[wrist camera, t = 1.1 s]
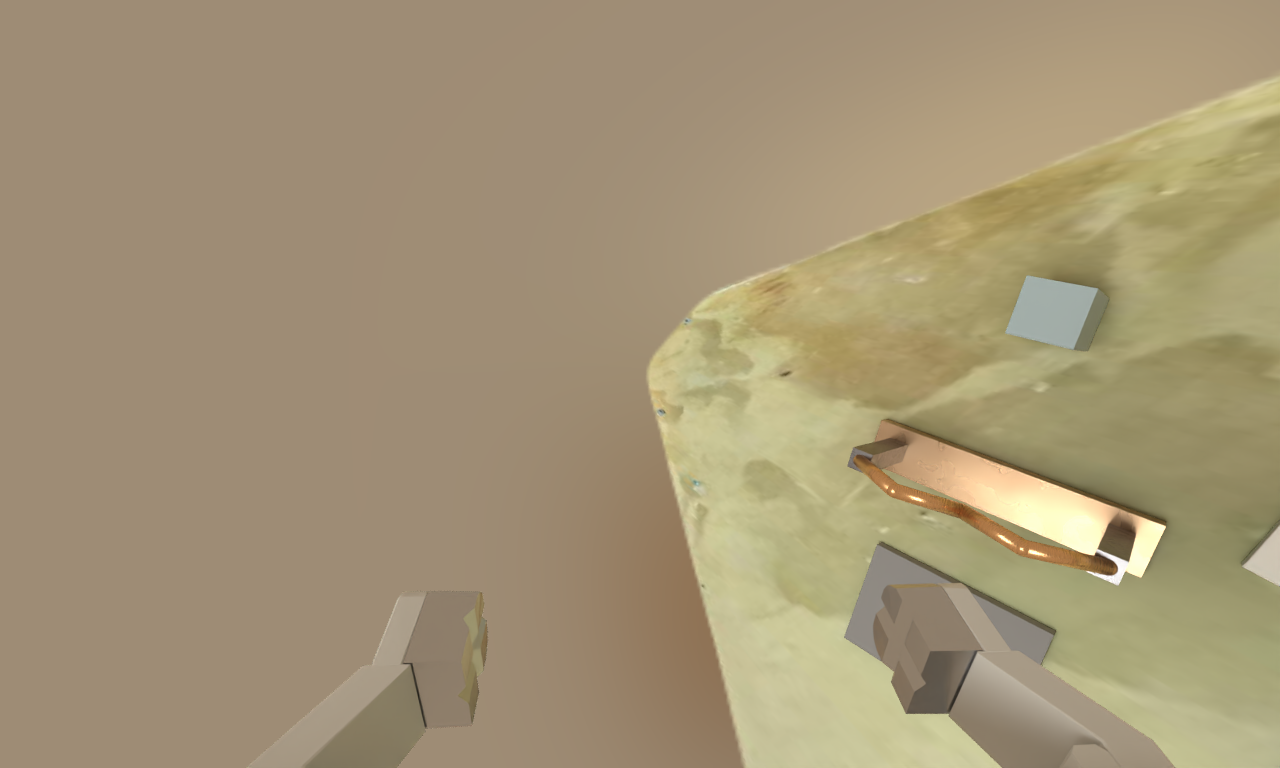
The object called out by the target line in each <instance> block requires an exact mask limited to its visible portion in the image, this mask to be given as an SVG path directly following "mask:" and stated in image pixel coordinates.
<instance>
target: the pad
mask: <svg viewBox="0 0 1280 768" xmlns="http://www.w3.org/2000/svg"><path fill="white" fill-rule="evenodd" d="M930 583H933V584H941V583H961V582H959V581H957V580H955V579H953V578H951V577H949V576H947V575H945V574H943V573H941V572H939V571H937V570H935V569H933V568H931V567H929V566H927V565H925V564H924V563H922V562H920V561H918V560H916V559H914V558H912V557H910V556H908V555H906V554H904V553H902V552H900V551H898V550H896V549H894V548H892V547H890V546H888V545H886V544H884V543H882V542H881V543H879V544H877V547H876V549H875V552H874V555H873V558H872V561H871V564H870V566H869V569H868V572H867V575H866V578H865V580H864V583H863V586H862V589H861V592H860V594H859V597H858V600H857V603H856V606H855V608H854V611H853V614H852V617H851V620H850V622H849V625H848V628H847V631H846V634H845V637H844V638H846V639H847V640H849V641H850V642H852V643H853V644H855V645H857V646H858V647H860V648H861V649H863V650H864V651H866V652H868V653H869V654H871V655H872V656H874V657H875V658H877V659H878V660H880V661H881V659H880V657H879V654H878V652H877V650H876V646H875V642H874V636H873V623H874V619H875V615H876V613H877V612H878V611H880V610H881V609H882V608H883V607H884V606H885V605H884V603H883V601H882V599H881V596H882V593H883V590H884V588H885V587H886V586H887V585H894V584H930ZM962 584H963V583H962ZM963 585H964V586H966V587H967V588H968V589H969V591H970V592H971V594H972V595H973V597H974V598H975V599H976V601H977V602H978V604H979V605H980V607H981V608H982V609H983V611H984V612H985V614H986V615H987V617H988V618H989V619H990V621H991V622H992V624H993V625H994V627H995V628H996V629H997V631H998V632H999V634H1000V635H1001V637H1002V638H1003V639H1004V641H1005V642H1006V644H1007V645H1008V647H1009V648H1010V649H1011V651H1020V652H1021V653H1023V654H1024V655H1026V656H1027V657H1029V658H1030V659H1032V660H1033V661H1035V662H1036V663H1038V664H1039V665H1041V663H1042V660H1043V658H1044V656H1045V654H1046V652H1047V649H1048V647H1049V645H1050V643H1051V641H1052V638H1053V636H1054V634H1055V632H1056V631H1055V630H1053V629H1051V628H1049V627H1047V626H1045V625H1043V624H1041V623H1039V622H1038V621H1036V620H1034V619H1032V618H1030V617H1028V616H1026V615H1024V614H1022V613H1020V612H1018V611H1016V610H1014V609H1012V608H1010V607H1008V606H1006V605H1004V604H1002V603H1000V602H998V601H996V600H994V599H992V598H990V597H988V596H986V595H984V594H982V593H981V592H979V591H977V590H975V589H973V588H971V587H969V586H967V585H965V584H963Z"/></svg>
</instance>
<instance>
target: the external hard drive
mask: <svg viewBox="0 0 1280 768" xmlns="http://www.w3.org/2000/svg"><path fill="white" fill-rule="evenodd" d="M1241 565H1242V567H1243V568H1245V569H1247V570H1249V571H1251V572H1253V573H1255V574H1257V575H1258V576H1260V577H1262V578H1264V579H1266V580H1268V581H1270V582H1272V583H1274V584H1276V585H1277V586H1279V587H1280V520H1279V521H1278V522H1277V523H1276V525H1275V526H1274V527H1273V528H1272V529H1271V530H1270V531H1269V532H1268V534H1267V535H1266V536H1265V537H1264V538H1263V539H1262V540H1261V541H1260V543H1259V544H1258V545H1257V546H1256V547H1255V548H1254V549H1253V550H1252V552H1251V553H1250V554H1249V555H1248V556H1247V557H1246V558H1245V559H1244V560H1243V562H1242V563H1241Z"/></svg>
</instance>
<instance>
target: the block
mask: <svg viewBox="0 0 1280 768" xmlns="http://www.w3.org/2000/svg"><path fill="white" fill-rule="evenodd" d="M1108 301H1109V298H1108V297H1107V296H1106V295H1105V294H1104V293H1103V292H1102V291H1100V290H1099V289H1098V288H1093V287H1087V286H1082V285H1076V284H1071V283H1065V282H1060V281H1055V280H1049V279H1044V278H1038V277H1033V276H1026V279H1025V282H1024V284H1023V287H1022V290H1021V292H1020V295H1019V298H1018V300H1017V303H1016V306H1015V308H1014V311H1013V313H1012V316H1011V319H1010V321H1009V324H1008V327H1007V329H1006V332H1005V333H1006V334H1010V335H1015V336H1019V337H1023V338H1027V339H1031V340H1035V341H1039V342H1043V343H1047V344H1052V345H1056V346H1060V347H1064V348H1068V349H1072V350H1080V351H1088V349H1089V347H1090V344H1091V342H1092V340H1093V337H1094V335H1095V332H1096V330H1097V328H1098V325H1099V323H1100V320H1101V318H1102V315H1103V313H1104V311H1105V308H1106V306H1107V303H1108Z"/></svg>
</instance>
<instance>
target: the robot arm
mask: <svg viewBox="0 0 1280 768" xmlns="http://www.w3.org/2000/svg"><path fill="white" fill-rule="evenodd" d="M881 599H882V601H883V603H884V605H885V606H884V607H883V608H882V609H881V610H880V611H878V612H877V613H876V615H875V619H874V623H873V636H874V642H875V646H876V650H877V652H878V654H879V657H880V659H881V661H882V662H883V663H884V664H885V665H887V666H888V667H889V668H890V669H891V670H893V671H894V673H893V677H892V681H891V683H892V685H893V687H894V689H895V691H896V694H897V696H898V698H899V700H900V702H901V704H902V706H903V708H904V711H905V713H906V714H949V717H950V718H951V719H952V720H953V721H954V722H955V723H956V724H957V725H958V726H959V727H960V728H961V729H963V730H964V731H965V732H966V733H967V734H968V735H969V736H970V737H971V738H972V739H973V740H974V741H975V742H976V743H977V744H978V745H979V746H980V747H981V748H982V749H983V750H984V751H985V752H986V753H988V754H989V755H990V756H991V757H992V758H993V759H994V760H995V761H996V762H997V763H998V764H999V765H1000V766H1001V767H1002V768H1175V767H1174V766H1173V764H1172V763H1171V762H1170V761H1169V759H1168V758H1167V757H1166V756H1165V754H1164V753H1163V752H1162V751H1161V749H1160V748H1159V747H1158V746H1157V745H1156V743H1155V742H1154V741H1153V740H1151V739H1150V738H1148V737H1147V736H1145V735H1144V734H1142V733H1141V732H1139V731H1138V730H1136V729H1135V728H1133V727H1132V726H1130V725H1129V724H1127V723H1126V722H1124V721H1123V720H1121V719H1120V718H1119V717H1117V716H1116V715H1114V714H1113V713H1111V712H1110V711H1108V710H1107V709H1105V708H1104V707H1102V706H1101V705H1099V704H1098V703H1096V702H1095V701H1093V700H1092V699H1090V698H1089V697H1087V696H1086V695H1084V694H1083V693H1081V692H1080V691H1078V690H1077V689H1075V688H1074V687H1072V686H1071V685H1069V684H1068V683H1066V682H1065V681H1063V680H1062V679H1060V678H1059V677H1057V676H1056V675H1054V674H1053V673H1051V672H1050V671H1048V670H1047V669H1045V668H1044V667H1042V666H1041V665H1039V664H1038V663H1036V662H1035V661H1033V660H1032V659H1030V658H1029V657H1027V656H1026V655H1024V654H1023V653H1021V652H1020V651H1011V649H1010V648H1009V647H1008V645H1007V644H1006V642H1005V641H1004V639H1003V638H1002V637H1001V635H1000V634H999V632H998V631H997V629H996V628H995V627H994V625H993V624H992V622H991V621H990V619H989V618H988V617H987V615H986V614H985V612H984V611H983V609H982V608H981V607H980V605H979V604H978V602H977V601H976V599H975V598H974V597H973V595H972V594H971V592H970V591H969V589H968V588H967V587H966V586H964V585H963V584H962V583H941V584H933V583H930V584H894V585H887V586H886V587H885V588H884V590H883V593H882V596H881ZM483 609H484V599H483V594H482V592H466V591H465V592H464V591H426V592H425V591H424V592H423V591H404V592H403V593H402V594H401V595H400V596H399V598H398V599H397V602H396V604H395V607H394V609H393V612H392V615H391V617H390V620H389V622H388V625H387V627H386V630H385V632H384V635H383V637H382V640H381V642H380V645H379V648H378V650H377V652H376V655H375V657H374V660H373V662H372V665H364V666H362V667H361V668H360V669H359V670H358V671H356V672H355V673H354V674H353V675H352V676H351V677H350V678H348V679H347V680H346V681H345V682H344V683H343V684H341V685H340V686H339V687H338V688H337V689H336V690H335V691H333V692H332V693H331V694H330V695H329V696H328V697H327V698H325V700H323V701H322V702H321V703H320V704H319V705H317V706H316V707H315V708H314V709H313V710H312V711H311V712H309V713H308V714H307V715H306V716H305V717H304V718H303V719H301V720H300V721H299V722H298V723H297V724H296V725H294V726H293V727H292V728H291V729H290V730H289V731H288V732H286V733H285V734H284V735H283V736H282V737H281V738H280V739H278V740H277V741H276V742H275V743H274V744H273V745H271V747H269V748H268V749H267V750H266V751H265V752H264V753H262V754H261V755H260V756H259V757H258V758H257V759H255V760H254V761H253V762H252V763H251V764H250V765H249V766H247V767H246V768H397V767H398V766H399V764H400V763H401V762H402V761H403V759H404V758H405V757H406V756H407V754H408V753H409V752H410V751H411V749H412V748H413V747H414V746H415V744H416V743H417V742H418V741H419V739H420V738H421V737H422V736H423V734H424V733H425V732H426V730H425V729H426V728H444V727H460V726H461V727H462V726H472V724H473V719H474V714H475V709H476V705H477V700H478V695H479V688H478V681H477V677H478V676H479V675H480V674H481V673H482V672H483V671H484V666H485V661H486V654H487V643H488V631H487V621H486V620H485V619H484V618H483V617H482V613H483Z"/></svg>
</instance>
